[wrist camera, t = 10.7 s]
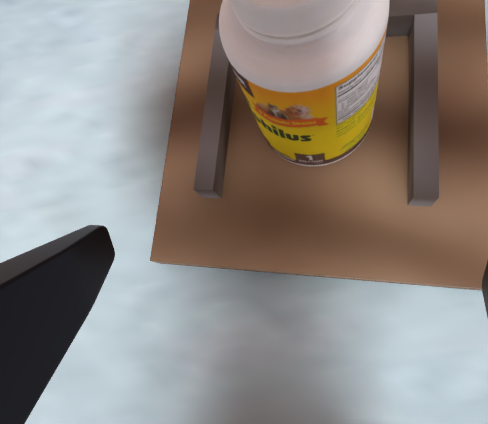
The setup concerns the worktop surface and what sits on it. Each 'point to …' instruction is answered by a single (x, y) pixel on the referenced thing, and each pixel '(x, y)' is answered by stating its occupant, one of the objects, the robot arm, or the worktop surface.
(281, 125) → the supplement bottle
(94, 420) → the worktop surface
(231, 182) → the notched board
